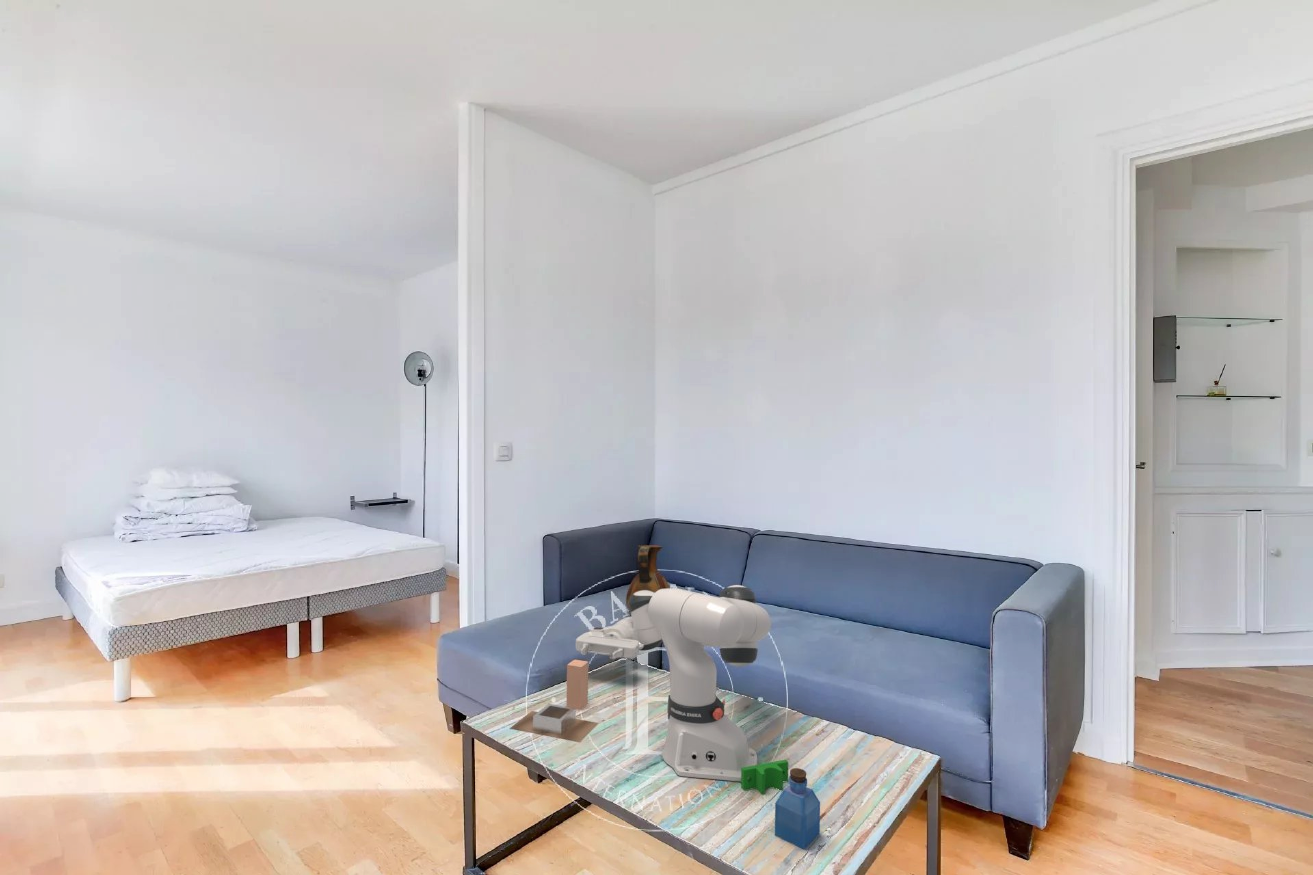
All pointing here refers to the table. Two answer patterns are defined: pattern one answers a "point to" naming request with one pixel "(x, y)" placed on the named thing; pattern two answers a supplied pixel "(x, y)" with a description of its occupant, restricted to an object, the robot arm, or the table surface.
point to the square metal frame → (554, 719)
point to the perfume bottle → (797, 811)
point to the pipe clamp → (765, 776)
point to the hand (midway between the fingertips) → (597, 654)
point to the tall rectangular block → (577, 684)
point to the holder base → (572, 733)
